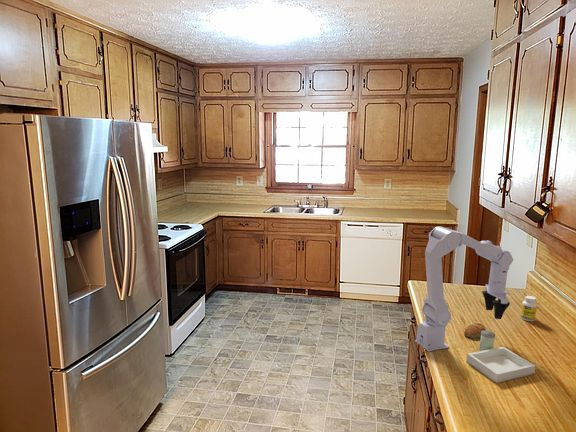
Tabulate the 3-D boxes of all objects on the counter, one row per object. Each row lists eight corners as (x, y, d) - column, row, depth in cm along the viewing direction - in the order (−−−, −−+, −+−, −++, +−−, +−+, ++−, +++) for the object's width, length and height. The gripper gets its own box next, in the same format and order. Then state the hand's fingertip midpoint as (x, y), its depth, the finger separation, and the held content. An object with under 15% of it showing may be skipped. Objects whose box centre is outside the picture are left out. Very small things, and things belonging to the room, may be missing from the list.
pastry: (475, 341, 157) (476, 332, 157) (459, 335, 162) (460, 326, 162) (487, 334, 163) (488, 325, 162) (471, 328, 168) (472, 319, 167)
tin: (485, 355, 147) (487, 337, 146) (476, 349, 151) (478, 331, 150) (496, 353, 149) (498, 335, 147) (486, 347, 153) (488, 329, 151)
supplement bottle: (521, 320, 176) (524, 298, 174) (519, 315, 181) (522, 294, 179) (535, 322, 174) (539, 300, 172) (533, 317, 179) (536, 296, 177)
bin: (496, 382, 131) (497, 374, 130) (466, 361, 143) (467, 353, 142) (534, 374, 136) (535, 365, 135) (502, 354, 148) (503, 346, 147)
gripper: (518, 287, 148) (513, 323, 150) (499, 274, 162) (495, 306, 165) (498, 286, 148) (493, 322, 151) (481, 273, 162) (477, 306, 165)
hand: (493, 314), depth 158 cm, fingers open, 7 cm apart
